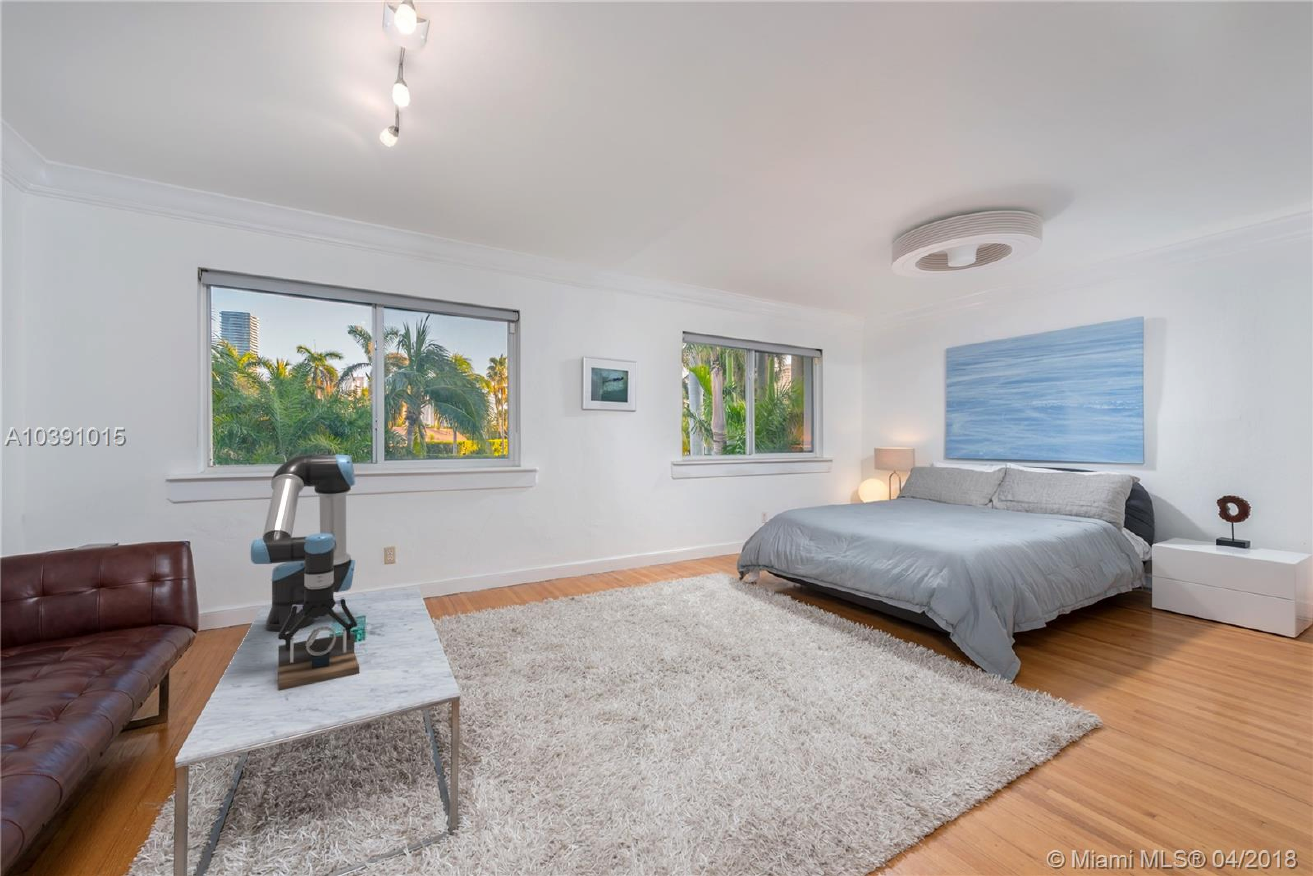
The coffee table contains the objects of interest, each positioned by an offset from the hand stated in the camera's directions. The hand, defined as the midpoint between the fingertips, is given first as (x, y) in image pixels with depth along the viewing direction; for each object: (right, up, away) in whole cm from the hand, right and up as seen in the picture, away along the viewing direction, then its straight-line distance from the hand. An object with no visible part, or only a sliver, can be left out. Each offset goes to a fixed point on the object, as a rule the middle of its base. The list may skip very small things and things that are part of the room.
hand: (318, 655), depth 166 cm
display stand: (+1, -5, -1) cm, 5 cm away
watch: (0, -3, 0) cm, 3 cm away
